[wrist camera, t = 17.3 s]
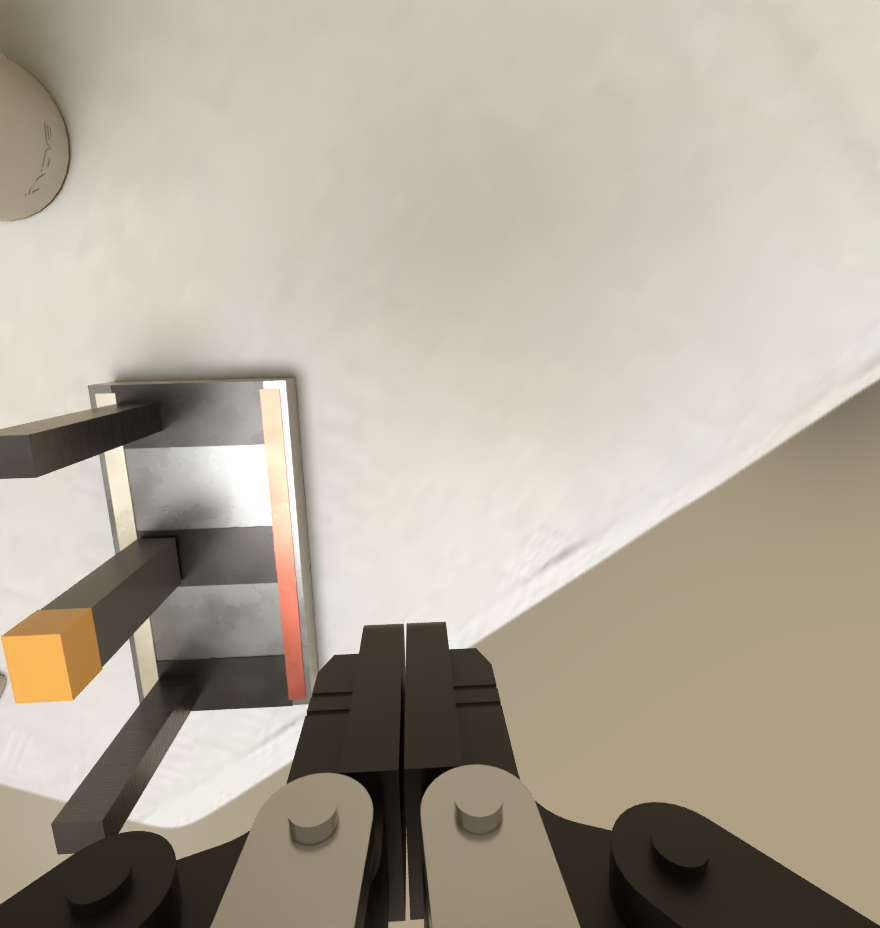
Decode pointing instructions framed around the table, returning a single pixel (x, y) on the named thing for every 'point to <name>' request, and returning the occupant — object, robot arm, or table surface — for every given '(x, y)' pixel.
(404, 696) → the robot arm
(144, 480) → the pillared base stand
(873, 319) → the table surface
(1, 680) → the game controller
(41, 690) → the lever
